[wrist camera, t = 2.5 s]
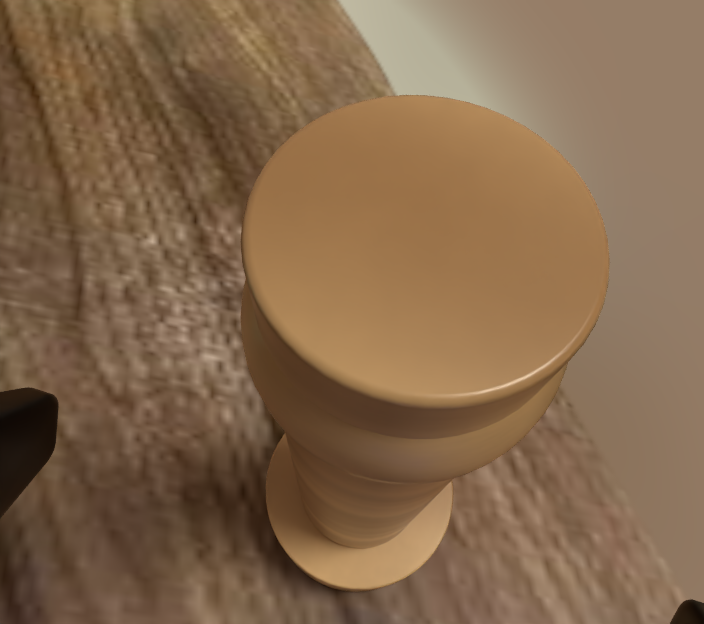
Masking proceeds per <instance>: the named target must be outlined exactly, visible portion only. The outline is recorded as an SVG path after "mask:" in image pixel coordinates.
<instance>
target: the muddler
mask: <svg viewBox="0 0 704 624" xmlns="http://www.w3.org/2000/svg"><path fill="white" fill-rule="evenodd" d="M608 250H609V249H608V239H607V235H606V231H605V227H604V223H603V219H602V217H601V214H600V212H599V209H598V207H597V204H596V202H595V200H594V198H593V196H592V195H591V193H590V191H589V189H588V188H587V186H586V184H585V183H584V181H583V180H582V179H581V177H580V176H579V175H578V173H577V172H576V170H575V169H574V168H573V166H572V165H571V164H570V163H568V161H567V160H566V159H565V158H564V157H563V156H562V155H561V154H560V153H559V152H558V151H557V150H556V149H555V148H553V147H552V146H551V145H550V144H549V143H547V142H546V141H545V140H544V139H543V138H541V137H540V136H539V135H537V134H536V133H534V132H533V131H531V130H530V129H528V128H527V127H525V126H523V125H521V124H519V123H518V122H516V121H514V120H512V119H510V118H508V117H506V116H504V115H502V114H499V113H497V112H495V111H492V110H490V109H488V108H485V107H481V106H478V105H475V104H471V103H468V102H464V101H460V100H455V99H450V98H443V97H435V96H425V95H400V96H387V97H380V98H375V99H369V100H364V101H360V102H357V103H354V104H350V105H347V106H344V107H341V108H339V109H336V110H334V111H332V112H329V113H327V114H325V115H323V116H321V117H319V118H318V119H316V120H314V121H312V122H310V123H309V124H307V125H306V126H305V127H303V128H302V129H300V130H299V131H298V132H296V133H295V134H293V135H292V136H291V137H290V138H289V139H288V140H287V141H286V142H285V143H284V144H283V145H282V146H281V147H279V149H278V150H277V151H276V152H275V153H274V155H273V156H272V157H271V158H270V160H269V161H268V162H267V163H266V165H265V167H264V168H263V170H262V172H261V173H260V175H259V177H258V178H257V180H256V182H255V184H254V186H253V189H252V191H251V194H250V196H249V198H248V201H247V204H246V208H245V212H244V217H243V221H242V232H241V252H242V263H243V268H244V272H245V276H246V280H245V285H244V289H243V296H242V306H241V332H242V342H243V348H244V352H245V357H246V361H247V366H248V369H249V371H250V374H251V377H252V379H253V382H254V385H255V387H256V389H257V391H258V392H259V394H260V396H261V398H262V400H263V401H264V403H265V405H266V407H267V409H268V410H269V412H270V413H271V414H272V416H273V417H274V418H275V420H276V421H277V422H278V424H279V425H280V426H281V428H282V429H283V430H284V431H285V434H284V435H283V437H282V438H281V440H280V441H279V443H278V445H277V447H276V449H275V451H274V453H273V455H272V458H271V461H270V464H269V468H268V473H267V478H266V493H265V494H266V506H267V511H268V516H269V520H270V523H271V525H272V528H273V531H274V533H275V535H276V537H277V539H278V541H279V543H280V544H281V546H282V547H283V549H284V550H285V552H286V553H287V554H288V556H289V557H290V558H291V559H292V561H293V562H294V563H295V564H296V565H297V566H298V567H299V568H300V569H301V570H302V571H303V572H304V573H306V574H307V575H308V576H309V577H311V578H312V579H314V580H316V581H317V582H319V583H321V584H323V585H326V586H328V587H331V588H334V589H338V590H342V591H350V592H363V591H370V590H375V589H378V588H382V587H385V586H388V585H391V584H394V583H396V582H398V581H400V580H402V579H404V578H406V577H408V576H409V575H411V574H412V573H414V572H415V571H417V570H418V569H419V568H420V567H421V566H422V565H423V564H424V563H425V562H427V560H428V559H429V558H430V557H431V556H432V554H433V553H434V552H435V550H436V549H437V547H438V546H439V544H440V543H441V541H442V539H443V537H444V534H445V532H446V530H447V527H448V524H449V521H450V518H451V512H452V506H453V482H452V480H453V479H454V478H456V477H459V476H462V475H465V474H468V473H470V472H472V471H474V470H476V469H479V468H481V467H483V466H485V465H487V464H489V463H490V462H492V461H493V460H495V459H497V458H498V457H500V456H501V455H503V454H504V453H506V452H508V451H509V450H510V449H511V448H512V447H514V446H515V445H516V444H517V443H518V442H519V441H521V440H522V439H523V438H524V437H525V436H526V435H527V434H528V432H529V431H530V430H531V429H532V428H533V427H534V425H535V424H536V423H537V422H538V421H539V419H540V418H541V417H542V416H543V415H544V413H545V412H546V410H547V408H548V407H549V405H550V403H551V402H552V400H553V399H554V397H555V395H556V393H557V390H558V388H559V386H560V383H561V381H562V378H563V376H564V373H565V370H566V368H567V364H568V361H569V360H570V359H571V358H572V357H573V356H574V355H575V353H576V352H577V351H578V350H579V349H580V347H582V345H583V344H584V343H585V341H586V339H587V338H588V336H589V335H590V333H591V331H592V330H593V328H594V327H595V325H596V322H597V320H598V318H599V315H600V313H601V310H602V308H603V305H604V301H605V296H606V292H607V288H608V279H609V251H608Z"/></svg>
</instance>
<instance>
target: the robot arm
mask: <svg viewBox="0 0 704 624" xmlns="http://www.w3.org/2000/svg"><path fill="white" fill-rule="evenodd" d="M57 419H58V400H57V398H56V397H55V396H54V395H53V394H50V393H47V392H44V391H41V390H37V389H34V388H21V389H15V390H10V391H4V392H0V518H1V517H2V516H3V515H4V513H5V512H6V511H7V510H8V509H9V507H10V506H11V505H12V504H13V502H14V501H15V500H16V499H17V498H18V496H19V495H20V494H21V493H22V492H23V490H24V489H25V488H26V487H27V486H28V484H29V483H30V482H31V481H32V480H33V478H34V477H35V476H36V475H37V473H38V472H39V471H40V470H41V469H42V467H43V466H44V465H45V464H46V463H47V461H48V460H49V458H50V457H51V455H52V453H53V451H54V448H55V443H56V432H57ZM670 624H704V603H702V602H698V601H695V600H686V601H684V602H683V603H682V604H681V605H680V606H679V608H678V610H677V611H676V613H675V615H674V617H673V619H672V621H671V622H670Z"/></svg>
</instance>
